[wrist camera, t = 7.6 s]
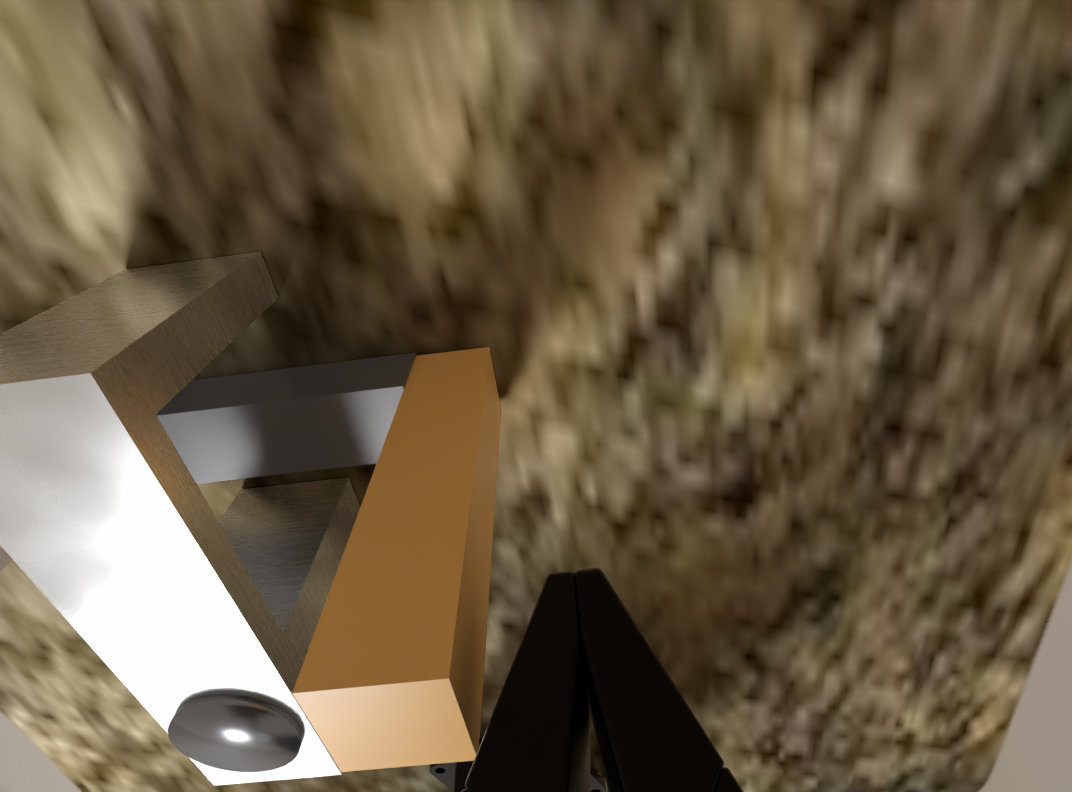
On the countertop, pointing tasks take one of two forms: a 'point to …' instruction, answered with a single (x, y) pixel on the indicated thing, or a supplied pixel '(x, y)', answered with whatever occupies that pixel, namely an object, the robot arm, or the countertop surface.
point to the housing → (167, 517)
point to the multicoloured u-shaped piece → (377, 536)
